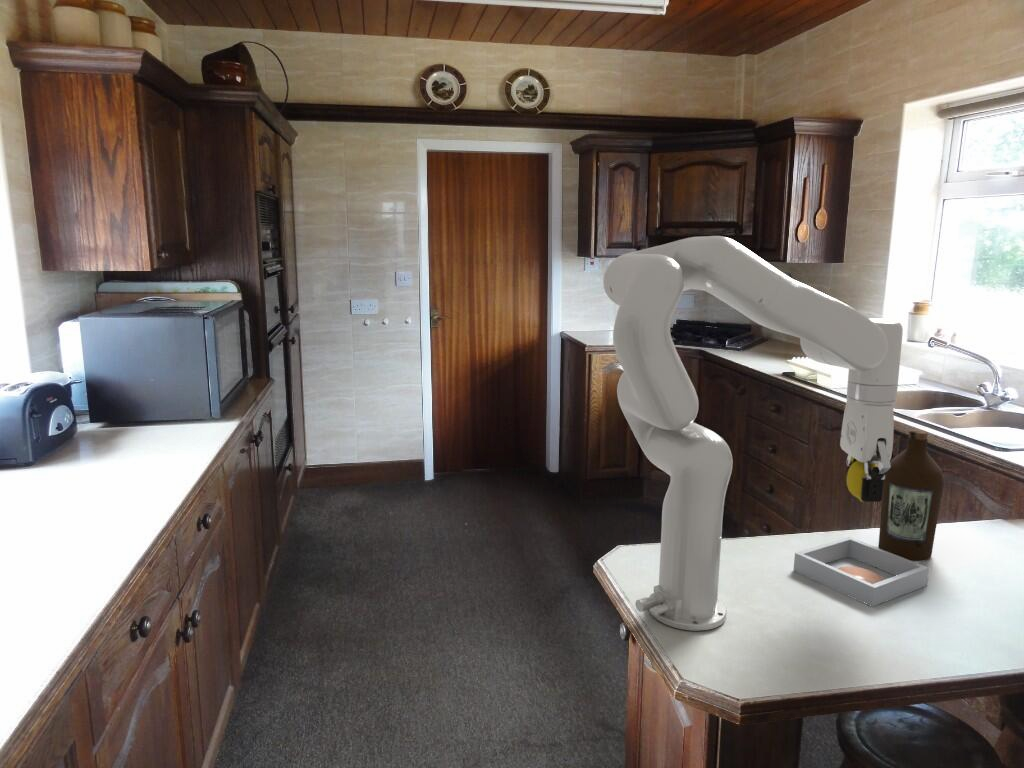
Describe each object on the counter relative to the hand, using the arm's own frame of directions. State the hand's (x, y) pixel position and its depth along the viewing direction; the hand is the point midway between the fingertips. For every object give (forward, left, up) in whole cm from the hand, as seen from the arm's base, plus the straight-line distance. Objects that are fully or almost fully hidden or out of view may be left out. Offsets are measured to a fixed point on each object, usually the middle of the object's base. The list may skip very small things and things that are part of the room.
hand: (863, 493), depth 122 cm
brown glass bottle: (+24, +6, -18) cm, 31 cm away
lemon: (0, 0, -2) cm, 2 cm away
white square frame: (+5, +3, -18) cm, 19 cm away
